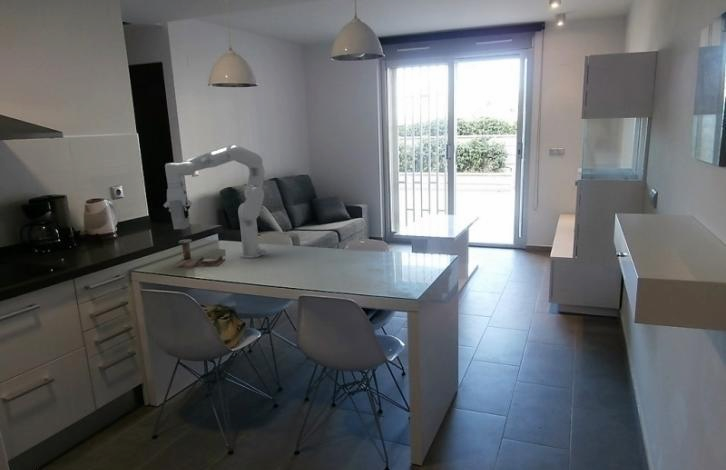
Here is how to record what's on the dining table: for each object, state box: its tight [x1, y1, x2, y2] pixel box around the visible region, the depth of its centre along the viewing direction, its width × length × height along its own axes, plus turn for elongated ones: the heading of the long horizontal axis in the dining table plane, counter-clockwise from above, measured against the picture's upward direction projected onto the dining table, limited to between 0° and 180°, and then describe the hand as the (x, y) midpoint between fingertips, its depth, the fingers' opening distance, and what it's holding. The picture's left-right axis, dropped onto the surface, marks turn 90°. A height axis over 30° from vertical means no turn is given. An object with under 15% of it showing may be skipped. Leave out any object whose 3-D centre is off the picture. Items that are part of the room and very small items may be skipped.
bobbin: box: [178, 238, 195, 262], centre depth 287 cm, size 7×7×12 cm
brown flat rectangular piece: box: [175, 255, 226, 269], centre depth 278 cm, size 24×12×3 cm, turn 88°
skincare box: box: [169, 200, 191, 230], centre depth 271 cm, size 8×7×16 cm
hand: (180, 217), depth 272 cm, fingers closed on skincare box, 6 cm apart
